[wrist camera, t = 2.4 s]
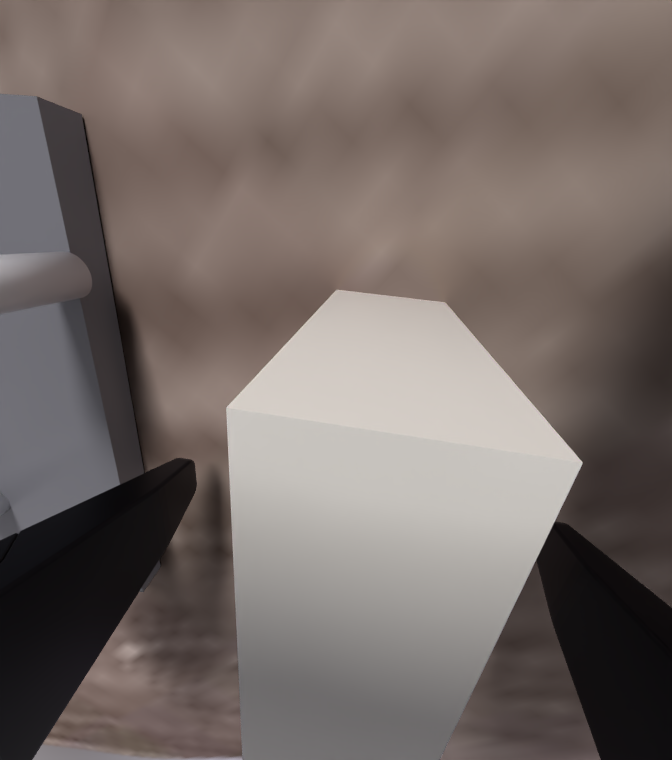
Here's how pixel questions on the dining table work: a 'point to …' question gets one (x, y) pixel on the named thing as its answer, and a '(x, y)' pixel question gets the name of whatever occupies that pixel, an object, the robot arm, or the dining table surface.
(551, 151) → the dining table surface
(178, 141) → the dining table surface
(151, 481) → the robot arm
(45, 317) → the rack
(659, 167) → the dining table surface
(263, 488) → the tile
